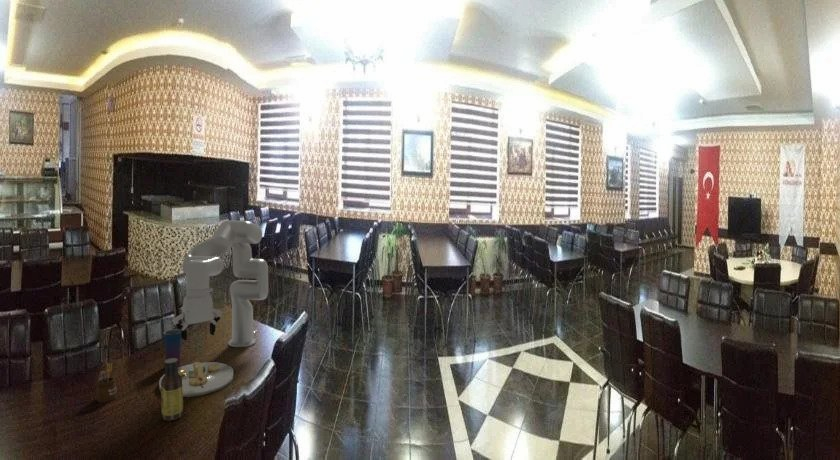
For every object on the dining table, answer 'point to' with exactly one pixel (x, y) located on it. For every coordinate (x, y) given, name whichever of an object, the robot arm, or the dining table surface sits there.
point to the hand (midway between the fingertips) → (198, 336)
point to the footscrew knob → (198, 375)
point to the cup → (172, 344)
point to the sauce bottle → (171, 391)
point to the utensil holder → (106, 387)
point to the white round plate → (216, 374)
